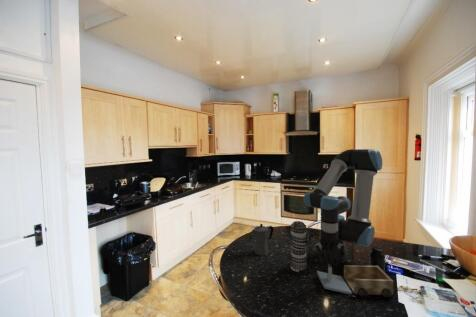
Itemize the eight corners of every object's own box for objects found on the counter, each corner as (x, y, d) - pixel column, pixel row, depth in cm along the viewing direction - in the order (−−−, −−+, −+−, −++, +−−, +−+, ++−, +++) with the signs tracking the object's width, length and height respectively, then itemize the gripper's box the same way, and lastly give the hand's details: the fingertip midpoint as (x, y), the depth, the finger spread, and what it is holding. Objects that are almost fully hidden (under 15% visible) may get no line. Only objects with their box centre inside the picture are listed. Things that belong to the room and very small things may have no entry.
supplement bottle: (366, 267, 119) (366, 245, 118) (378, 266, 119) (378, 244, 119) (375, 274, 112) (375, 251, 111) (388, 273, 113) (388, 250, 112)
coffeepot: (255, 257, 131) (255, 228, 130) (248, 251, 140) (248, 223, 139) (277, 252, 137) (277, 224, 136) (269, 246, 146) (269, 219, 145)
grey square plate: (351, 294, 97) (324, 288, 98) (340, 278, 109) (316, 272, 110) (352, 292, 97) (324, 286, 98) (341, 276, 109) (317, 270, 110)
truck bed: (356, 297, 96) (356, 281, 95) (342, 277, 110) (342, 263, 110) (394, 298, 95) (395, 282, 94) (376, 278, 109) (376, 264, 109)
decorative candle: (295, 261, 126) (295, 218, 125) (310, 267, 120) (310, 222, 118) (286, 267, 120) (286, 222, 118) (302, 274, 113) (301, 227, 112)
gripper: (340, 227, 105) (340, 274, 107) (312, 227, 106) (312, 274, 108) (347, 233, 98) (346, 284, 99) (317, 233, 99) (317, 284, 100)
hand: (329, 279), depth 103 cm, fingers closed
